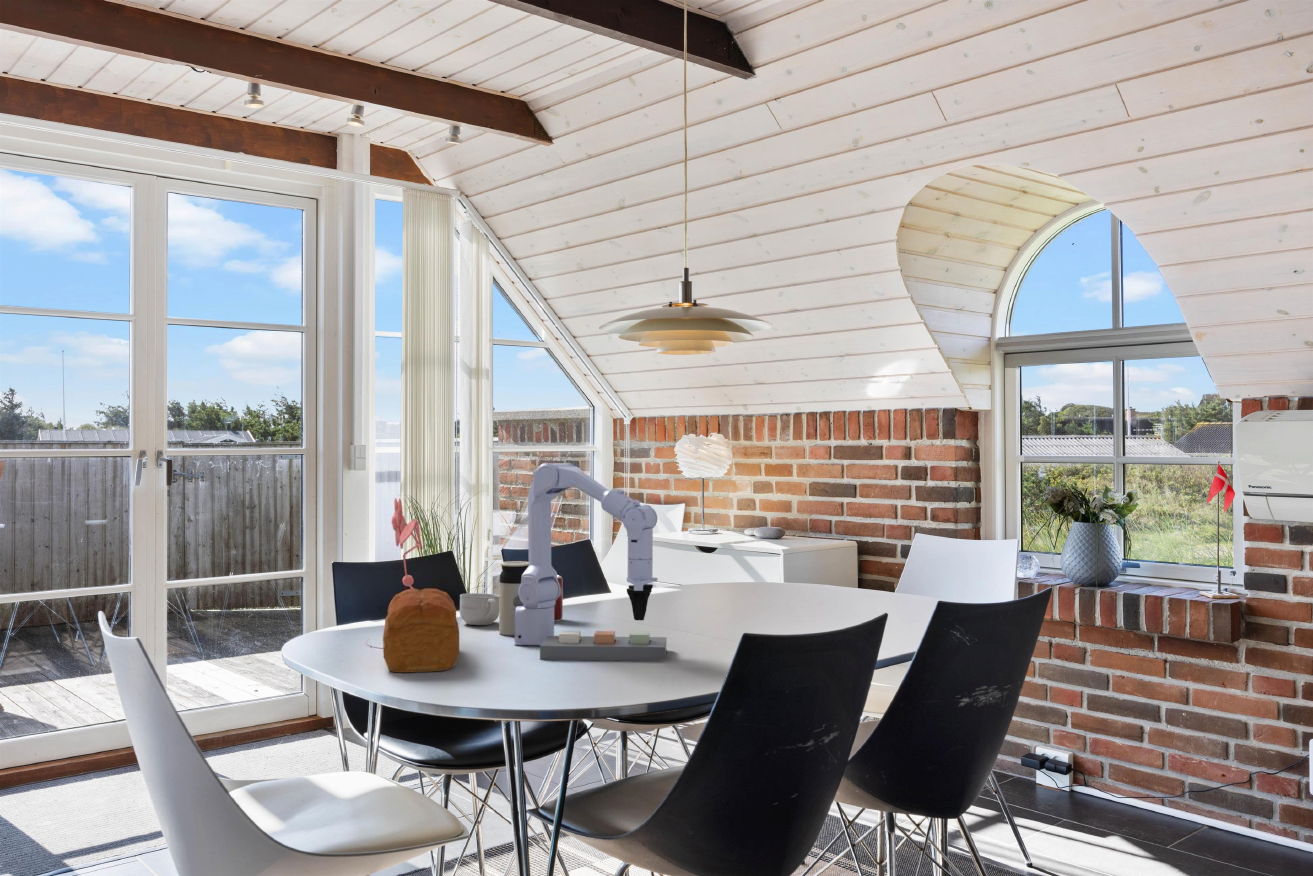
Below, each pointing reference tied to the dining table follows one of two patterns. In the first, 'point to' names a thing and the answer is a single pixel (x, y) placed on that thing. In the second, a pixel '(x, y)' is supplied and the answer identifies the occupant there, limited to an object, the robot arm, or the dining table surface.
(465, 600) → the teacup
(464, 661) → the dining table surface
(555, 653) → the button panel
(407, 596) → the bread
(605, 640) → the rust button
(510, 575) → the travel mug
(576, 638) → the cream button
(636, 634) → the sage button
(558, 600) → the soda can
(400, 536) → the figurine
